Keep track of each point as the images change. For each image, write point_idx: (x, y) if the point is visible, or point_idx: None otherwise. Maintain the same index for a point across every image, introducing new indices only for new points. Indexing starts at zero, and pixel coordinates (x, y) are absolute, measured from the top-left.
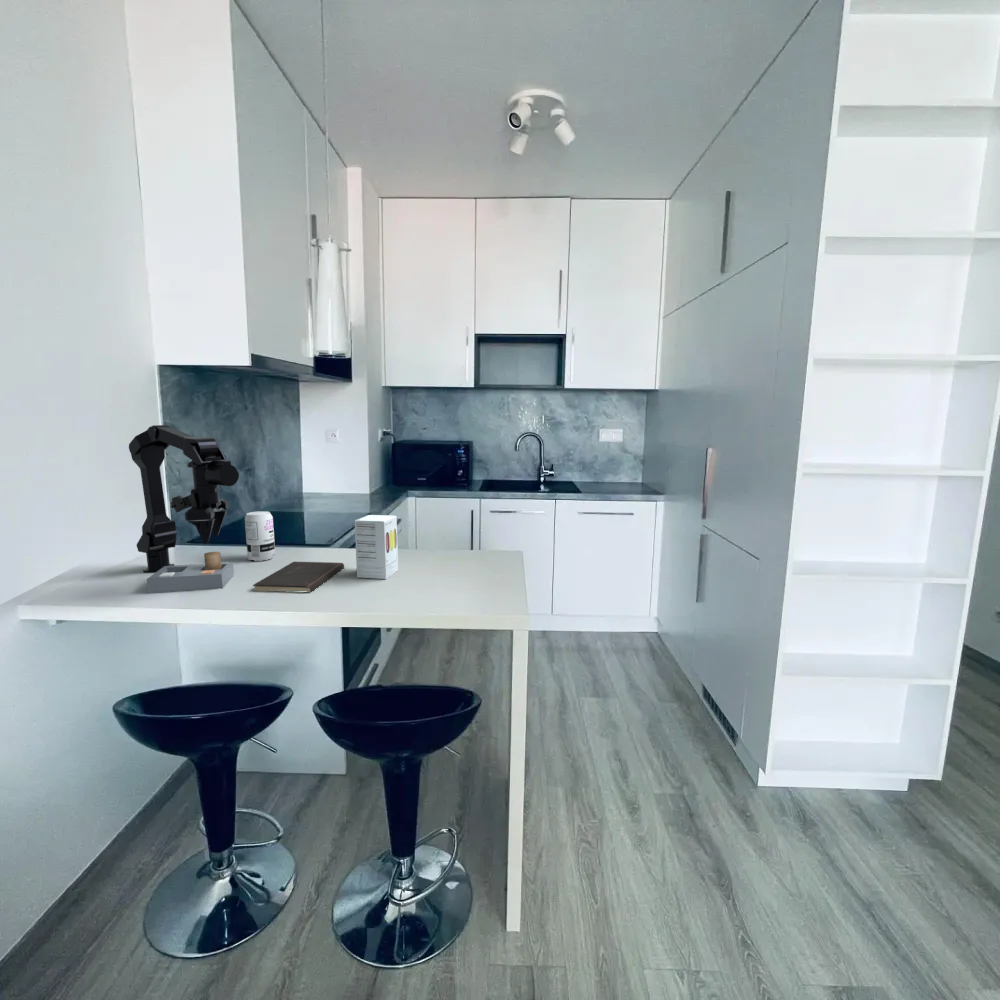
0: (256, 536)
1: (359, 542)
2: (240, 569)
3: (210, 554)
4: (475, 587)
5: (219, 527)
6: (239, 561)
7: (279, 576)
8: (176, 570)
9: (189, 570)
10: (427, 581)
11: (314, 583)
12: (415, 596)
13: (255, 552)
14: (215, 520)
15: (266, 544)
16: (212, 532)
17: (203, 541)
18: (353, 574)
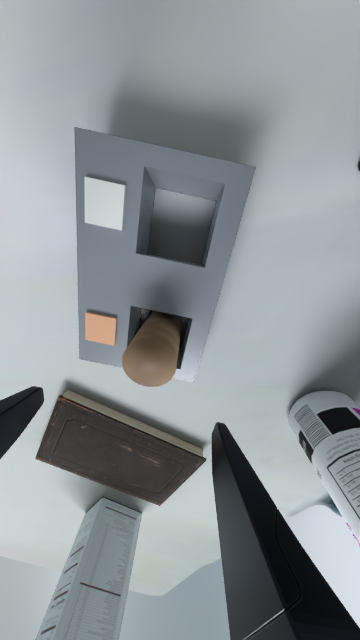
0: (337, 479)
1: (64, 595)
2: (242, 371)
3: (133, 360)
4: (39, 549)
5: (217, 505)
6: (326, 370)
7: (104, 434)
8: (214, 224)
9: (144, 276)
10: (67, 534)
11: (53, 465)
12: (15, 516)
13: (306, 421)
14: (246, 591)
15: (311, 461)
16: (222, 440)
17: (18, 396)
18: (121, 496)
